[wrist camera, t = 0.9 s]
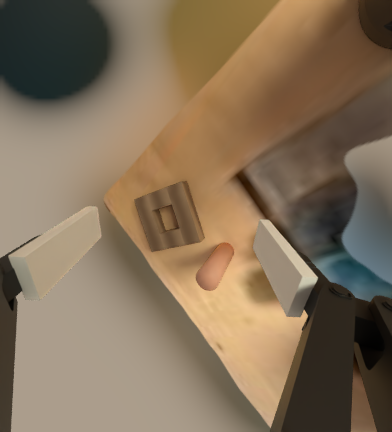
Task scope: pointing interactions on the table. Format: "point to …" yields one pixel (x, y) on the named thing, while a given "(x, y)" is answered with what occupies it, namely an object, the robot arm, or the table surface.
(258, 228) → the robot arm
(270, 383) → the table surface
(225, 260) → the pin
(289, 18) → the table surface
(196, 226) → the socket block
